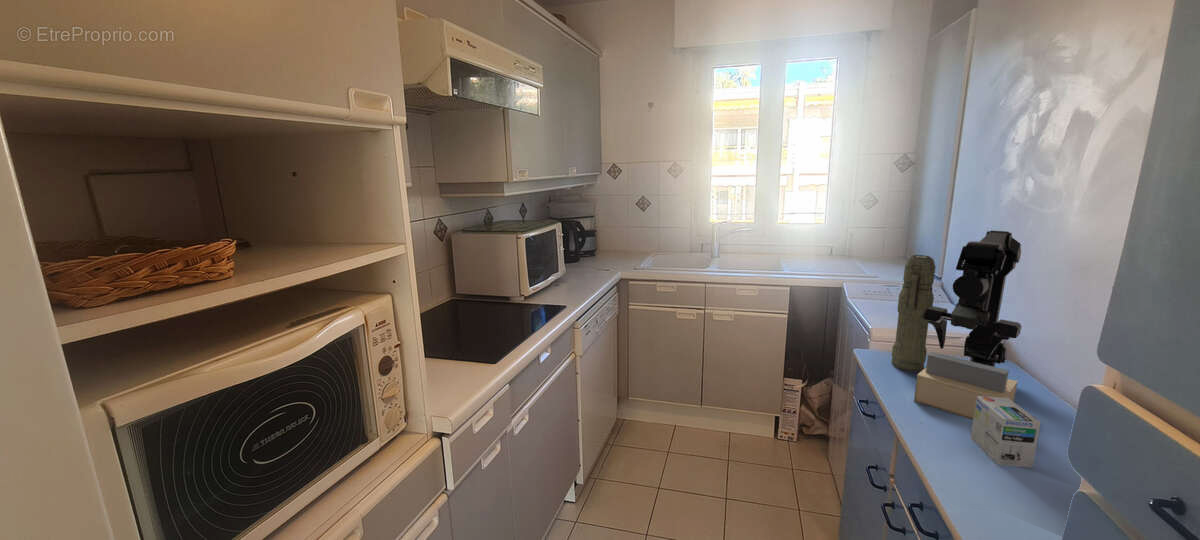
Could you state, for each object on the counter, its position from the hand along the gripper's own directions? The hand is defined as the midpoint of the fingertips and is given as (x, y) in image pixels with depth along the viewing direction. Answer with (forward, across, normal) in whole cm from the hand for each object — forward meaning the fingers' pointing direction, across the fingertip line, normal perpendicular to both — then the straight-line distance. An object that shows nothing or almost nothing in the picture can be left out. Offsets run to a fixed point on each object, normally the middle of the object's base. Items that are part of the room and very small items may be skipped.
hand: (963, 353), depth 118 cm
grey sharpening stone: (+8, +1, 0) cm, 8 cm away
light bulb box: (+16, +12, -14) cm, 25 cm away
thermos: (+14, -17, +22) cm, 31 cm away
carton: (+15, +1, +4) cm, 16 cm away
